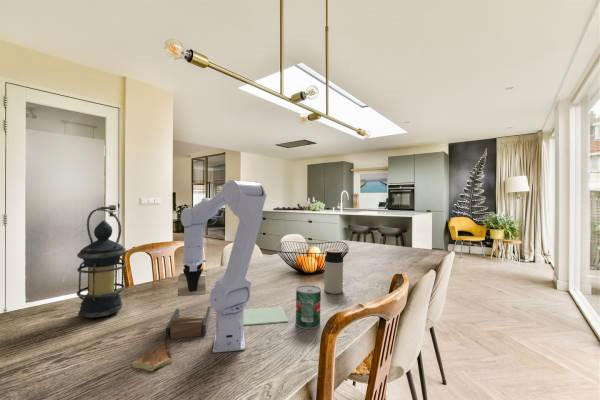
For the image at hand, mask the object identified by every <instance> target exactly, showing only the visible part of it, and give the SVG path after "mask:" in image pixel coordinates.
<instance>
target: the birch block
mask: <svg viewBox="0 0 600 400" xmlns="http://www.w3.org/2000/svg"><path fill="white" fill-rule="evenodd" d="M207 274H208V272H202V273H201V275H200V278H199V281H198V286H197V290H196V291H194V292H189V290H188V284H187V279H186V276H185V274H184V272H183V273H180V274H179V275H178V276H177V297H188V296H191V297H192V296H205V295H206V294H207V293H206V292H207V283H208V282H207V281H208V280H207V279H208V275H207Z"/></svg>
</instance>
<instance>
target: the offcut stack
mask: <svg viewBox="0 0 600 400" xmlns="http://www.w3.org/2000/svg"><path fill="white" fill-rule="evenodd" d="M171 318H172V317H171ZM203 323H204V316H203V315H200V316H184V317H183V316H182V317H179V318H172V322H171V335H170V339H177V338H179V339H180V338H189V337H190V338H191V337H200V336H202V334H203Z"/></svg>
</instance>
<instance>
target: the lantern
mask: <svg viewBox="0 0 600 400" xmlns="http://www.w3.org/2000/svg"><path fill="white" fill-rule="evenodd" d="M96 211H102V212H103V211H104V212H107V213H109V214H111V216H113V217H114V218H115V220H116V222H117V225H118V235H117V237H116V241H114V240H111V239H110V238H111V236H112V234H113V228H112V225H110V223H108V222H107V221H106V220H101V221H100V222H99V223H98V224H97V225H96V227H94V231H93V234H94V238H96V239H97V240H95V241H94V240H93V237H92V234H91V230H90V229H91V228H90V219H91V218H92V215H93V214H94V213H95V212H96ZM86 219H87V220H86V229H87V231H86V232H87V235H88V238H89V241H90V243H89V244H88V245H86V246H84V247H83V248H82V249H80V251H79V252H78V253H77V254H76V255H77V258H79V259H80V260H83V261H82V262H81V263H80V265H79V267H77V272H78V291H76V296H77V297H78V298H79V299H80V300H82V301H81V303H80V305H81V306H80V307H79V311H78V313H77V315H78V316H79V317H83V318H89V319H95V318H102V317H107V316H110V315H112V314H115V313H116V312H119V311H121V309H122V308H123V301H122V298H121V292H122V291H124V290H125V289H126V285H125V284H124V274H125V273H124V272H125V270H124V269H125V267H126V266H127V264H126V263H125V262H124V259H123V258H122V257H123V256H124V255H125V253H126V248H124V245H123V244H121V243H120V244H119V241H120V239H121V234H122V225H121V221H120V220H119V218H118V216H117V215H116V214H115V213H113V212H112V211H110V210H108V209H103V208H96V209H94V210H92V211H91V212H90V213H89V214H88V216H87V218H86ZM120 261H121V262H120ZM118 265H120V266H118ZM85 268H87V270H83V269H85ZM119 270H121V283H118V271H119ZM82 274H87V286H86V287H83V288H82V287H81V286H82V285H81V283H82V282H81V281H82ZM117 287H121V288H119V289H117ZM86 290H87V293H86V294H81V293H82V292H83V291H86Z"/></svg>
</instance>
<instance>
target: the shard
mask: <svg viewBox="0 0 600 400" xmlns="http://www.w3.org/2000/svg"><path fill="white" fill-rule="evenodd" d="M172 357H173V356H172V354H171V351H170V348H169V345H168V343H167V339H165V340H164V341H162V342H160V343H159V344H157V345H156V346H155V347H154V346H153V347H152V348H151V349H150V350H148V351H146V352H144V353H143V354H142V355H140V356H139V357H138V358H136V359H135V360H134V361H133V362H132V368H134V369H135V368H137V369H142V370H143V369H144V370H146V371H150V372H153V371H155V370H157V369H158V368H161V367H162V366H163V367H164V366H165V365H169V364H171V363H172V362H173V358H172Z"/></svg>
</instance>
